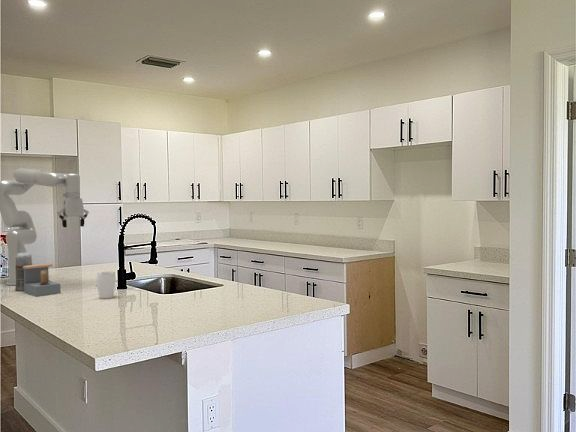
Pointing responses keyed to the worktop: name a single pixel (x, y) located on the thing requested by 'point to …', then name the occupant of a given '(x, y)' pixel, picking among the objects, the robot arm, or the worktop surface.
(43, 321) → the worktop surface
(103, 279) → the cup
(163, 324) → the worktop surface
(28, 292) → the socket block
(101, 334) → the worktop surface
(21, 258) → the spray can
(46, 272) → the peg
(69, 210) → the robot arm
